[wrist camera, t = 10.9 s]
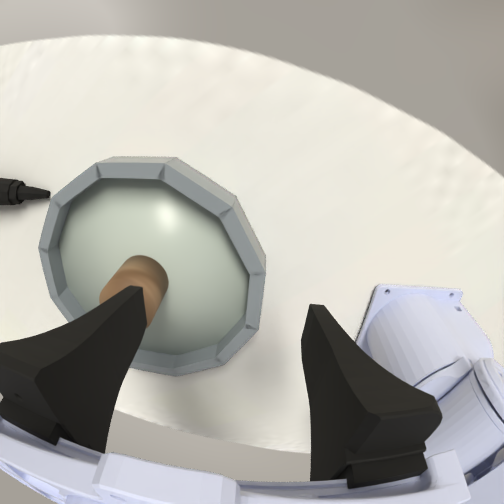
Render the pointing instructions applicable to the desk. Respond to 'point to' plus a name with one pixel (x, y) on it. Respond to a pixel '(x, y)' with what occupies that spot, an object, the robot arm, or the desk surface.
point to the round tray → (159, 256)
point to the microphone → (19, 192)
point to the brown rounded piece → (139, 282)
